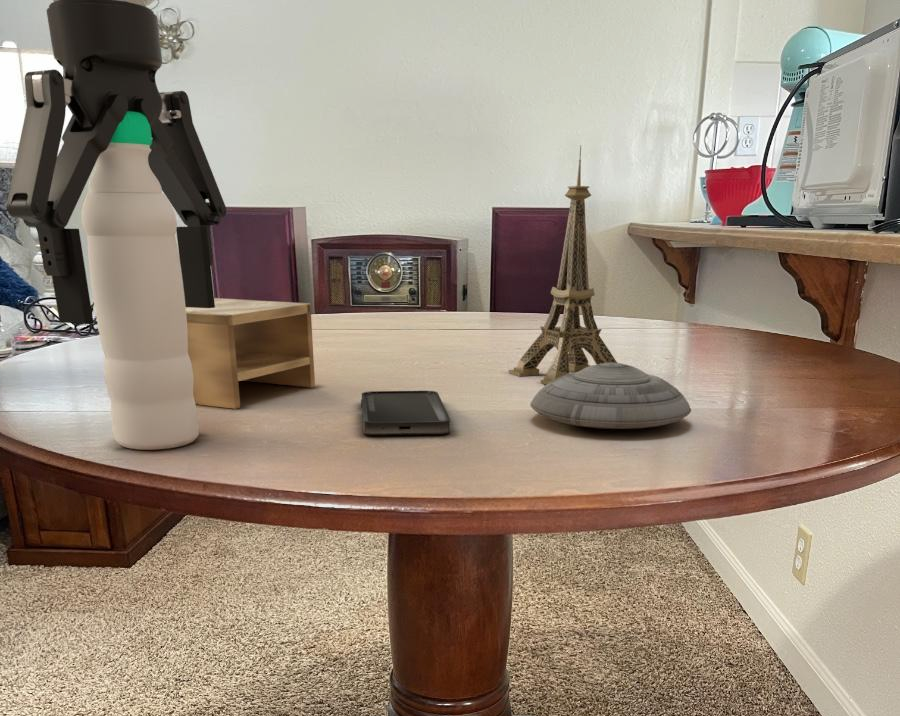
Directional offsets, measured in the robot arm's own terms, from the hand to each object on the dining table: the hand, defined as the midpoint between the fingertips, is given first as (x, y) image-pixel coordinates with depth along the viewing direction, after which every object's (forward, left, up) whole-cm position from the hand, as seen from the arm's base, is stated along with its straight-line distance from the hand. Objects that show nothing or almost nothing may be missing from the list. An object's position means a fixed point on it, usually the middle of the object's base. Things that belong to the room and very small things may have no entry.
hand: (143, 315), depth 72 cm
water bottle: (0, 0, -11) cm, 11 cm away
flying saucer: (+32, +26, -11) cm, 42 cm away
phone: (+14, +18, -11) cm, 25 cm away
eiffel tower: (+20, +48, -11) cm, 53 cm away
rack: (-11, +21, -11) cm, 26 cm away
